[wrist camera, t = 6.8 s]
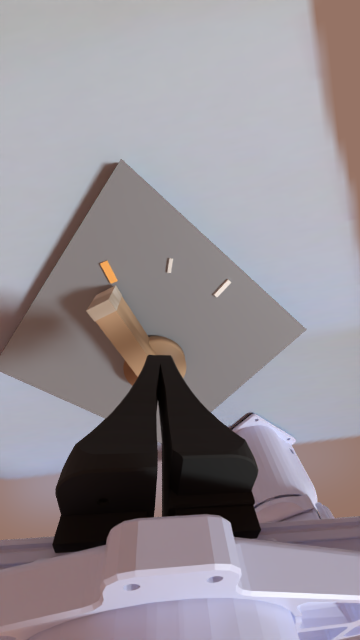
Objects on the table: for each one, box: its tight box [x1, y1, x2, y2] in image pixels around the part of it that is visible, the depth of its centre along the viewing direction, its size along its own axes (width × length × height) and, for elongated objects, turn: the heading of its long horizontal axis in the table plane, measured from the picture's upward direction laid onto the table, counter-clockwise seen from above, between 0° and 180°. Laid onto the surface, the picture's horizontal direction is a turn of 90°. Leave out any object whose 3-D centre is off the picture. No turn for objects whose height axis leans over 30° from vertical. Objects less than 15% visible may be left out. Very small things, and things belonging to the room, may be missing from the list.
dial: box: [86, 285, 186, 386], centre depth 21 cm, size 12×6×3 cm, turn 26°
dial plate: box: [0, 159, 306, 443], centre depth 24 cm, size 22×22×2 cm
